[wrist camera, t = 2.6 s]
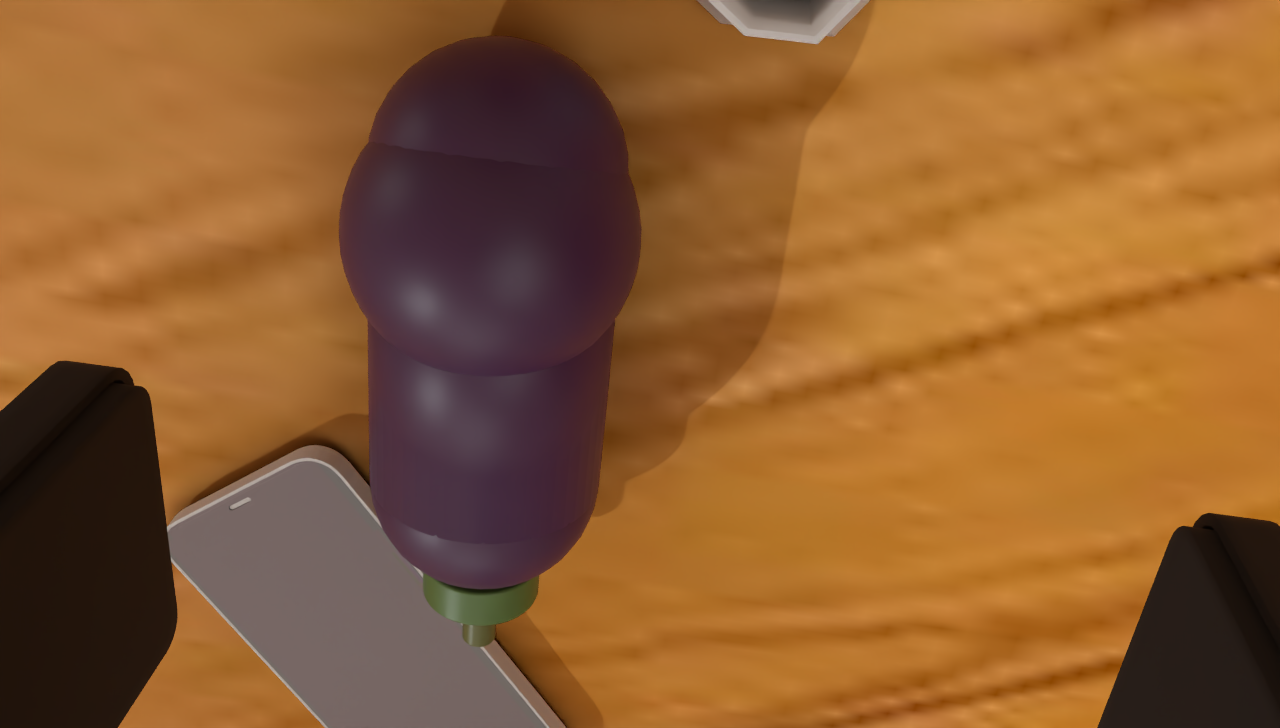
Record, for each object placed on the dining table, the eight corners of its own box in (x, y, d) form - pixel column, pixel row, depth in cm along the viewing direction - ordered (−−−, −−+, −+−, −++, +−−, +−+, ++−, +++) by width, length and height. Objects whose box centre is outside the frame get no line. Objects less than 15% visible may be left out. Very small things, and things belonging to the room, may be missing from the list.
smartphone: (417, 829, 44) (145, 536, 39) (423, 809, 45) (158, 519, 40) (584, 767, 42) (319, 446, 36) (587, 747, 43) (329, 430, 37)
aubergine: (673, 29, 30) (643, 110, 24) (611, 588, 39) (577, 759, 33) (389, -7, 31) (283, 64, 24) (390, 556, 39) (313, 719, 33)
